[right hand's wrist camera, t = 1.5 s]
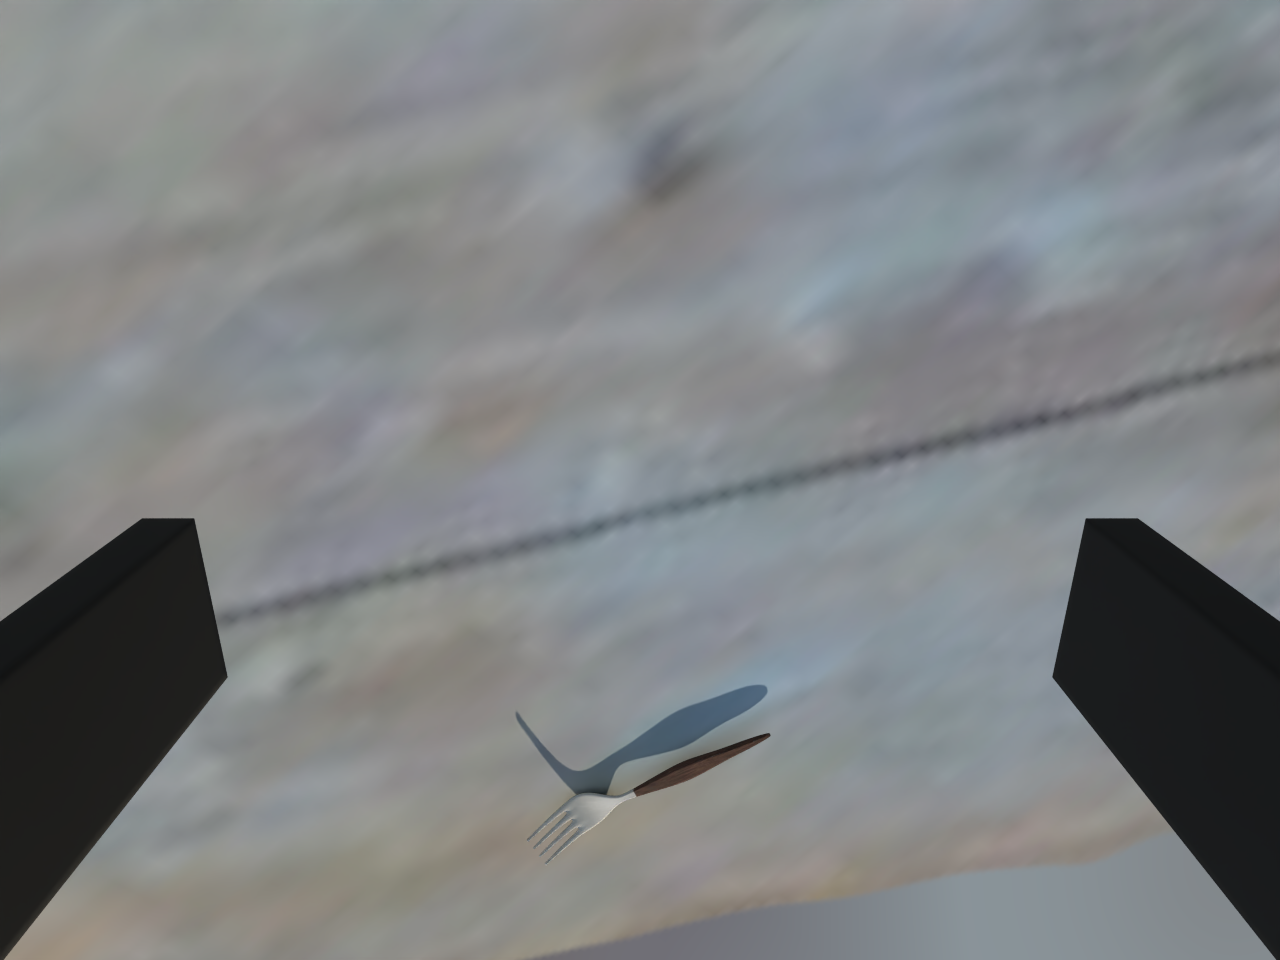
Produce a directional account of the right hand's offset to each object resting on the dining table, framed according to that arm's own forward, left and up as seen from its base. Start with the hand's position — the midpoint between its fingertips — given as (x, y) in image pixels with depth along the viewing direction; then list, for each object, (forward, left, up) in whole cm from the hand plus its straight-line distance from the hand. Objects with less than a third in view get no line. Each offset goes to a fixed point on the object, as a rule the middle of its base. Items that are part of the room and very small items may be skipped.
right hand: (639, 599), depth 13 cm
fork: (+22, -19, -30) cm, 42 cm away
